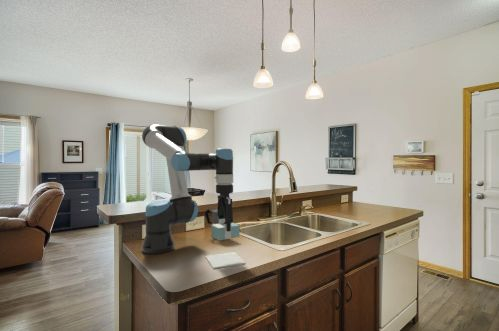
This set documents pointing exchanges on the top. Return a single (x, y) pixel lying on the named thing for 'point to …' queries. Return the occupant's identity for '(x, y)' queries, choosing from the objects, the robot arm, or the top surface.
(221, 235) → the light blue block
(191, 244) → the top surface
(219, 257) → the mat
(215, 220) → the coffeepot
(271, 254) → the top surface
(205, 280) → the top surface
